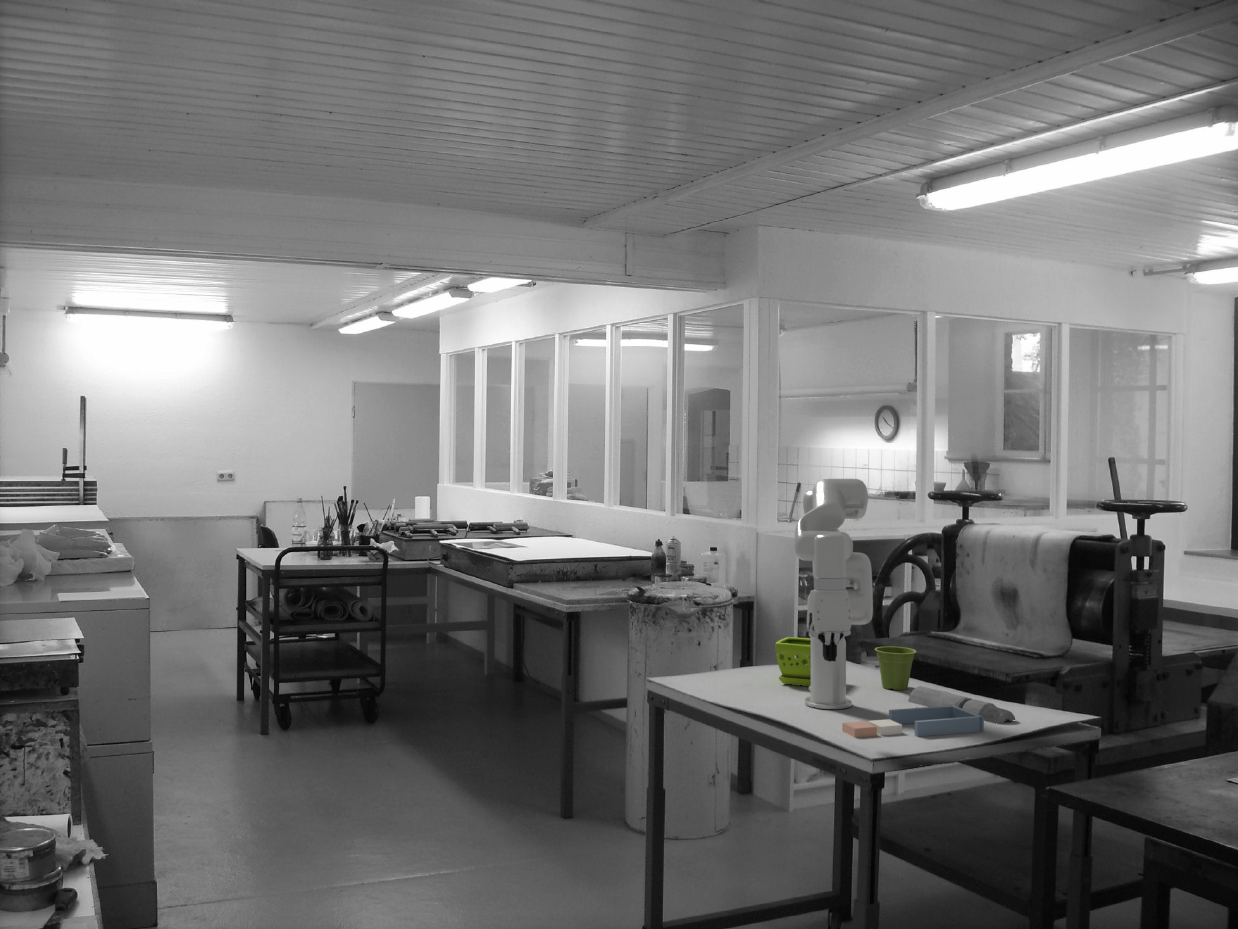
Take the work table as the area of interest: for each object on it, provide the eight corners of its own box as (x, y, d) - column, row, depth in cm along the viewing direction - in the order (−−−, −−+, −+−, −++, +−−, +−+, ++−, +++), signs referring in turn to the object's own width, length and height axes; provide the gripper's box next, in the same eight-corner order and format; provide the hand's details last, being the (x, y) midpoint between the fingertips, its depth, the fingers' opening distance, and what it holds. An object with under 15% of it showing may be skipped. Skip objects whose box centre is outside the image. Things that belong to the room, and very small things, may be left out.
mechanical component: (930, 684, 300) (1018, 705, 274) (930, 699, 300) (1018, 722, 274) (908, 688, 296) (995, 709, 270) (908, 703, 296) (995, 726, 270)
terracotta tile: (842, 733, 263) (842, 722, 263) (864, 731, 265) (864, 721, 265) (854, 739, 257) (854, 728, 257) (876, 737, 259) (876, 727, 259)
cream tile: (867, 731, 265) (867, 721, 265) (889, 729, 267) (889, 719, 267) (880, 737, 259) (880, 726, 259) (902, 735, 261) (902, 725, 261)
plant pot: (899, 694, 305) (899, 654, 305) (866, 687, 314) (866, 649, 314) (924, 688, 312) (924, 650, 312) (891, 682, 322) (891, 644, 322)
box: (889, 723, 271) (889, 710, 271) (953, 718, 276) (953, 705, 276) (917, 736, 258) (917, 722, 258) (983, 731, 263) (983, 717, 263)
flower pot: (819, 689, 311) (819, 646, 311) (773, 685, 317) (773, 642, 317) (831, 680, 324) (831, 639, 324) (787, 677, 330) (787, 635, 330)
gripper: (850, 582, 264) (850, 656, 264) (794, 584, 260) (794, 659, 260) (865, 585, 257) (865, 661, 257) (808, 587, 253) (808, 664, 253)
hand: (829, 660), depth 259 cm, fingers closed
